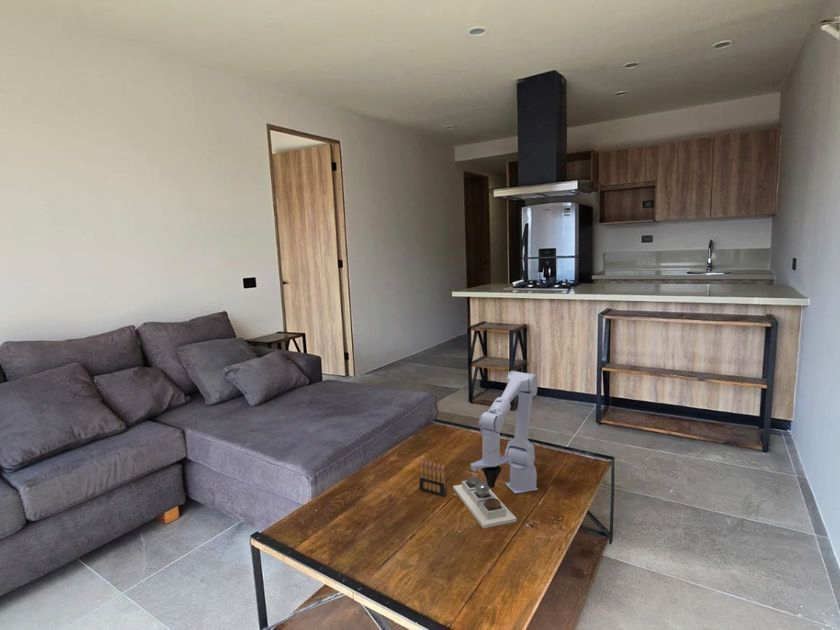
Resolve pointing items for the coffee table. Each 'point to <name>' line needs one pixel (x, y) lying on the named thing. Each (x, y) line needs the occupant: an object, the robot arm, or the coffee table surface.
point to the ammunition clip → (432, 479)
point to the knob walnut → (492, 504)
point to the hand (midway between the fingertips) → (491, 486)
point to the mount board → (483, 507)
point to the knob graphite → (472, 481)
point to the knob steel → (482, 489)
